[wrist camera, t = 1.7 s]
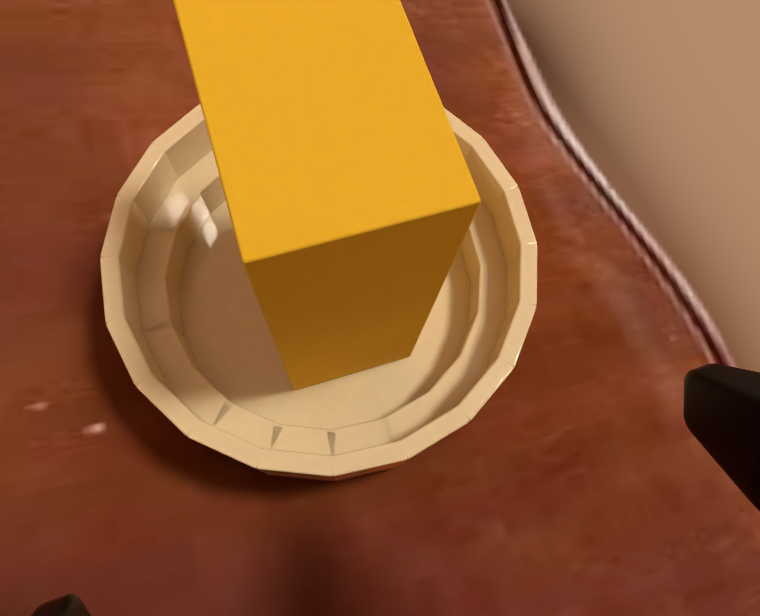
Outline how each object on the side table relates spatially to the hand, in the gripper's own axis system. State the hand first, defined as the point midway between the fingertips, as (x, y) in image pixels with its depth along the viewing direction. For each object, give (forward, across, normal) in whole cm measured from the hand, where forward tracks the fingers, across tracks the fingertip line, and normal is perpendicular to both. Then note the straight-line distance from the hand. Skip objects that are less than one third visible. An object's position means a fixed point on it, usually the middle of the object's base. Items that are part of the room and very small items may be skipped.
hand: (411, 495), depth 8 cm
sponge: (+15, -1, +3) cm, 15 cm away
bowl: (+15, -1, +3) cm, 16 cm away
